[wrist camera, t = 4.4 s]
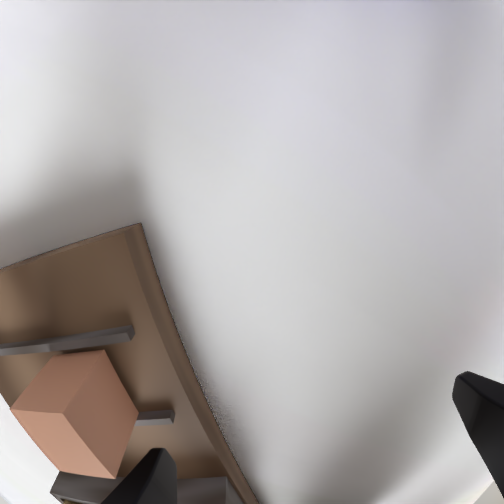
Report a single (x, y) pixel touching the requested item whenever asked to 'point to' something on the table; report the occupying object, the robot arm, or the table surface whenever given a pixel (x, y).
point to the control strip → (116, 359)
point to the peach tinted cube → (78, 414)
